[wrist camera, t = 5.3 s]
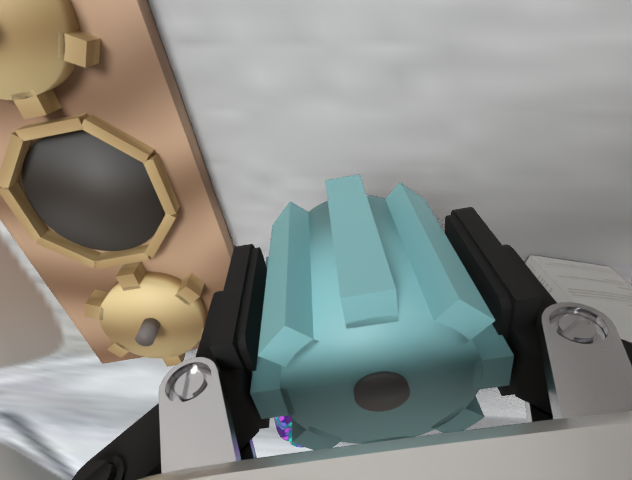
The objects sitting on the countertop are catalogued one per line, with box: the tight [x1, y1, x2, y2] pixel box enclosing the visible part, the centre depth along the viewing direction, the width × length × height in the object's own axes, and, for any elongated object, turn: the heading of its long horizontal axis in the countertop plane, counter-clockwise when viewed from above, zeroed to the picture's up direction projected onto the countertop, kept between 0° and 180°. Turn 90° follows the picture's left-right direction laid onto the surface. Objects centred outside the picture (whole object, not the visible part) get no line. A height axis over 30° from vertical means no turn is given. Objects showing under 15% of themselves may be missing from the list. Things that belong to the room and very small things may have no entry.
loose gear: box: [250, 174, 514, 450], centre depth 10 cm, size 6×6×5 cm
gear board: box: [0, 0, 234, 366], centre depth 23 cm, size 28×13×4 cm, turn 10°
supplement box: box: [525, 255, 632, 343], centre depth 26 cm, size 7×7×13 cm
